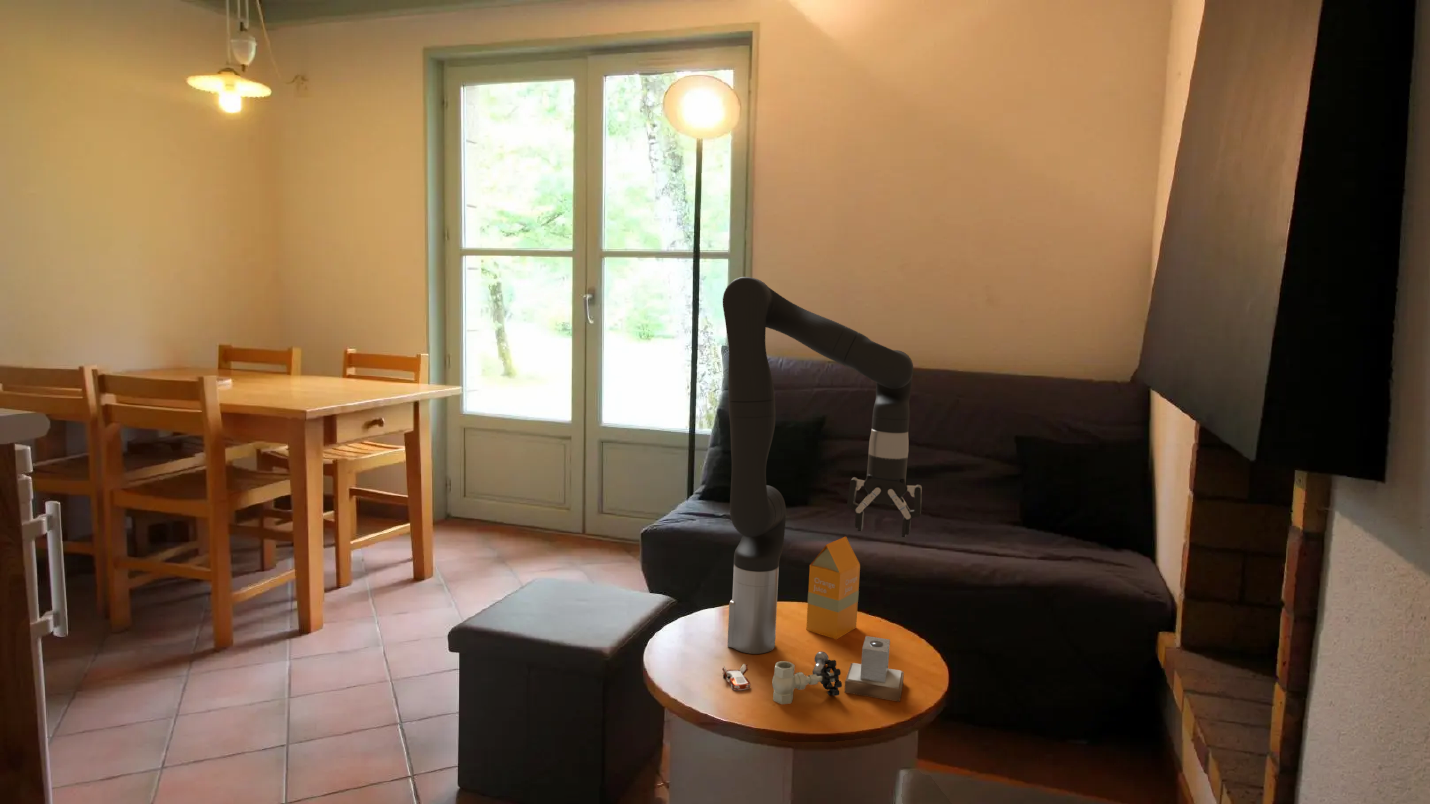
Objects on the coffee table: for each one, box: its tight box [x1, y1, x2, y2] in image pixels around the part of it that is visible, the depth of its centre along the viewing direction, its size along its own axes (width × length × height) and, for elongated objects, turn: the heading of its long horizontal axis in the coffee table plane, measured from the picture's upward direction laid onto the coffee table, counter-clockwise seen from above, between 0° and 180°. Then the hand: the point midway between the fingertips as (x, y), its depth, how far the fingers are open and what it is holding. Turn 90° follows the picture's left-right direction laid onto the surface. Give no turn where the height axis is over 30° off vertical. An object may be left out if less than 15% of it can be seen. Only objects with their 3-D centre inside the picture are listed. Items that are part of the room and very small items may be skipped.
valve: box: [771, 659, 843, 705], centre depth 153 cm, size 7×7×12 cm
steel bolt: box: [812, 650, 830, 676], centre depth 165 cm, size 6×3×3 cm, turn 163°
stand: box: [844, 662, 905, 702], centre depth 158 cm, size 10×8×2 cm
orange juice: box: [805, 536, 861, 640], centre depth 184 cm, size 8×9×20 cm
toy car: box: [722, 663, 751, 691], centre depth 159 cm, size 5×8×3 cm, turn 17°
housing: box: [860, 635, 891, 683], centre depth 158 cm, size 4×6×6 cm
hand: (882, 533), depth 167 cm, fingers open, 8 cm apart
